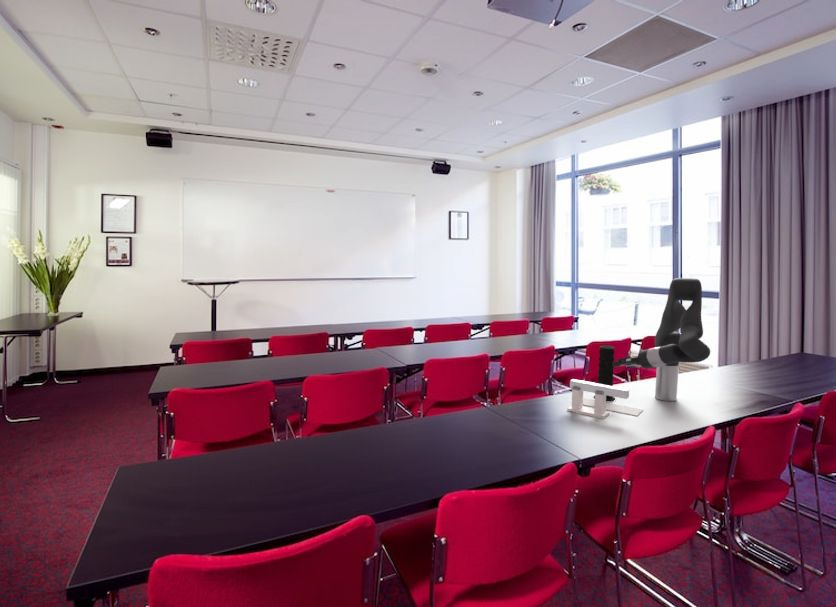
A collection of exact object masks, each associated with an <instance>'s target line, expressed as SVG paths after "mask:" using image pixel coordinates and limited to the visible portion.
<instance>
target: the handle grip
mask: <svg viewBox="0 0 836 607" xmlns="http://www.w3.org/2000/svg"><path fill="white" fill-rule="evenodd" d="M598 354H599V355H598V356H599V357H598V377H597V383H598V384H604V385H609V386H614V384H613V383H614V369H615V367H613V364H612V362H615V347H614V346H611V345H608V344H607V345H600V346H599V351H598ZM593 398H594V399H595V395H594V396H593ZM615 399H616V397H613V396H608V395H606V401H611V402H615V401H616V400H615ZM614 400H615V401H614Z"/></svg>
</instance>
